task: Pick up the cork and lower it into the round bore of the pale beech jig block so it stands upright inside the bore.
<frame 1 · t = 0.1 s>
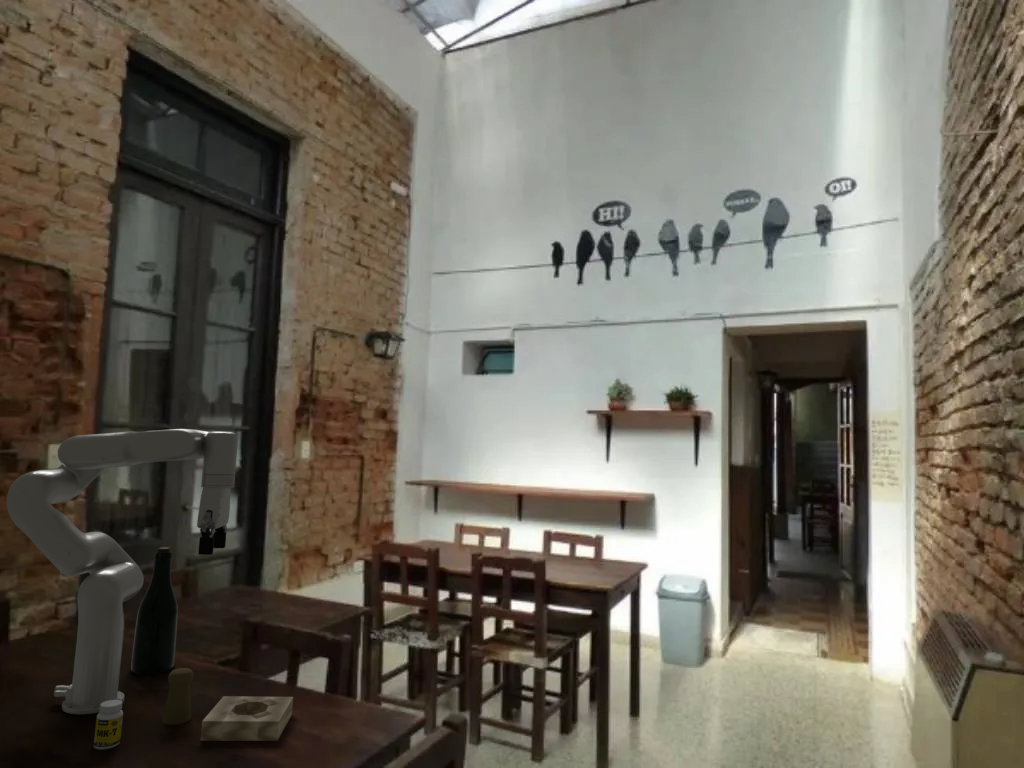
hand: (212, 551, 162), 37 cm above the table, tool pointing down, fingers open, 9 cm apart
wine bottle: (152, 669, 181), on the table
supplement bottle: (106, 746, 137), on the table
jig: (248, 726, 148), on the table
cork: (176, 720, 150), on the table
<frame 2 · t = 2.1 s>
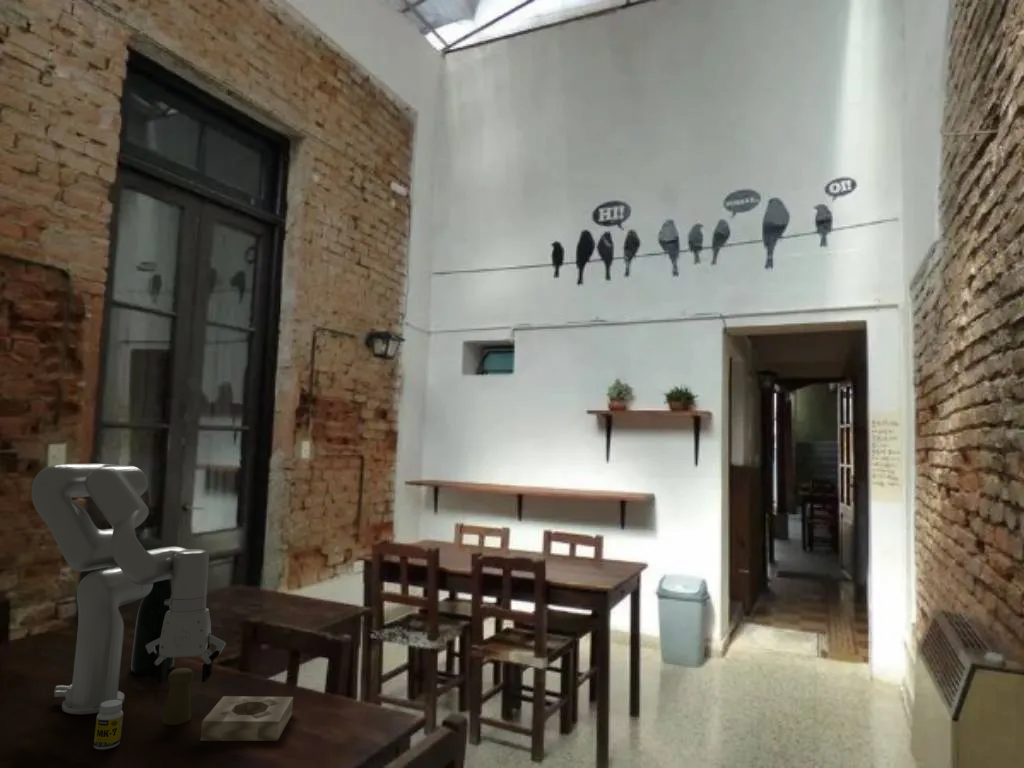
hand: (183, 680, 151), 9 cm above the table, tool pointing down, fingers open, 9 cm apart
nothing on the table moved.
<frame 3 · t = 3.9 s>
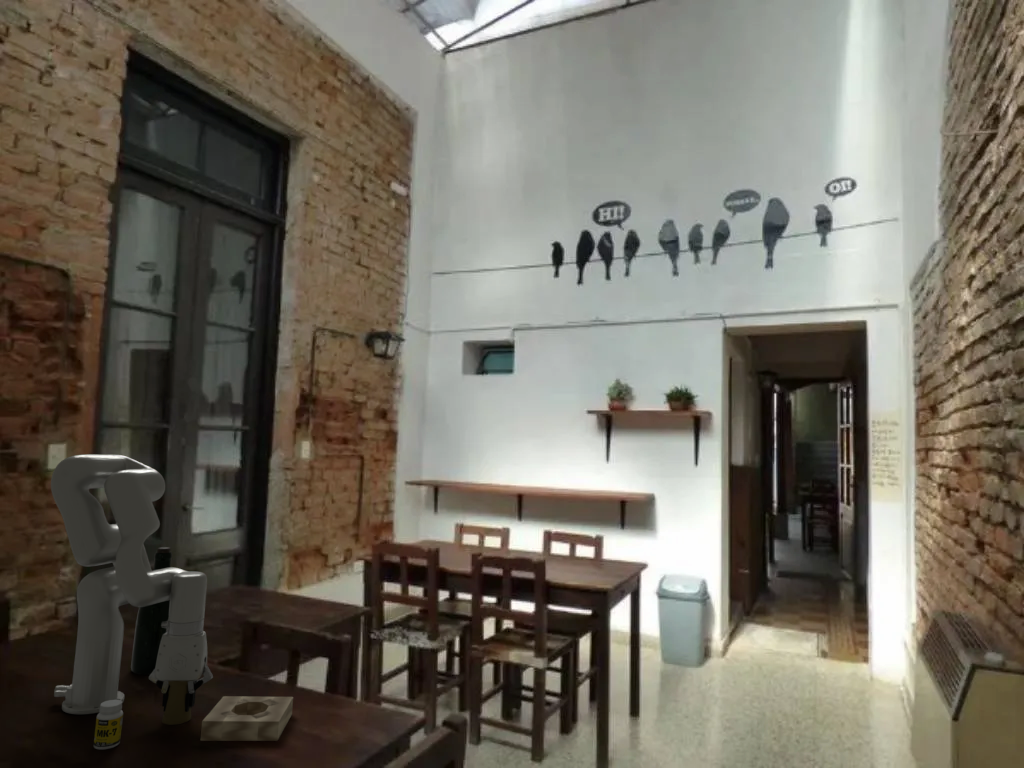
hand: (178, 708, 151), 2 cm above the table, tool pointing down, fingers closed on cork, 3 cm apart
cork: (176, 720, 150), on the table, touching gripper
everything else where it was.
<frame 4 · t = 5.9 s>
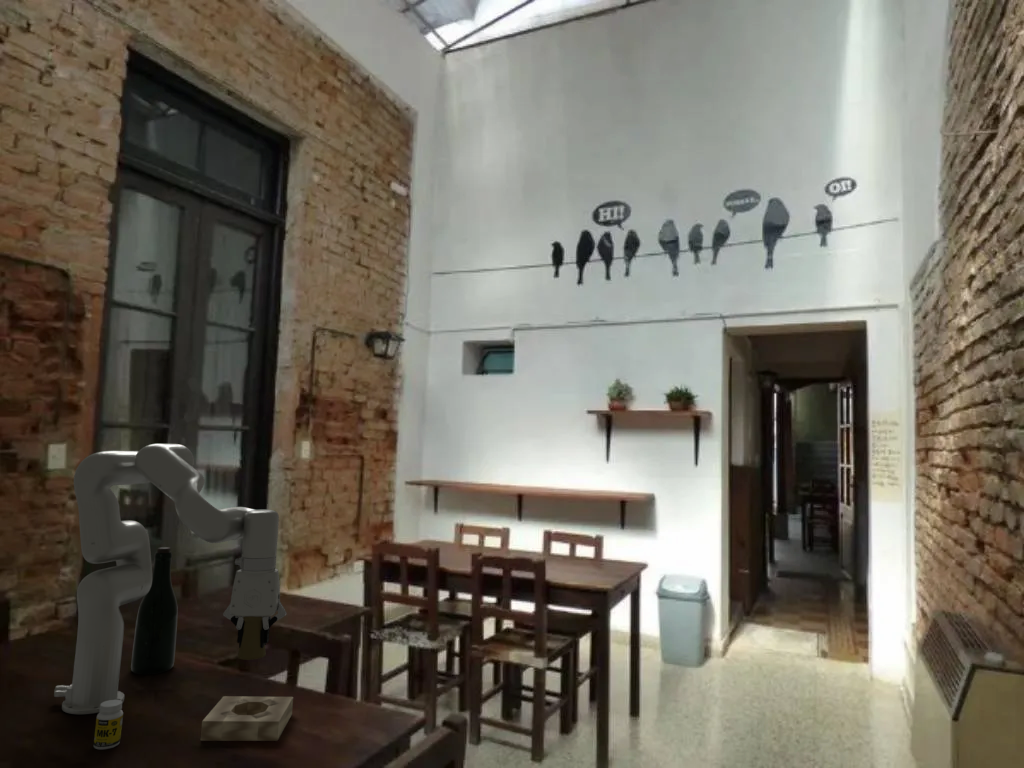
hand: (252, 645, 150), 18 cm above the table, tool pointing down, fingers closed on cork, 3 cm apart
cork: (251, 656, 150), point 15 cm above the table, touching gripper
everything else where it was.
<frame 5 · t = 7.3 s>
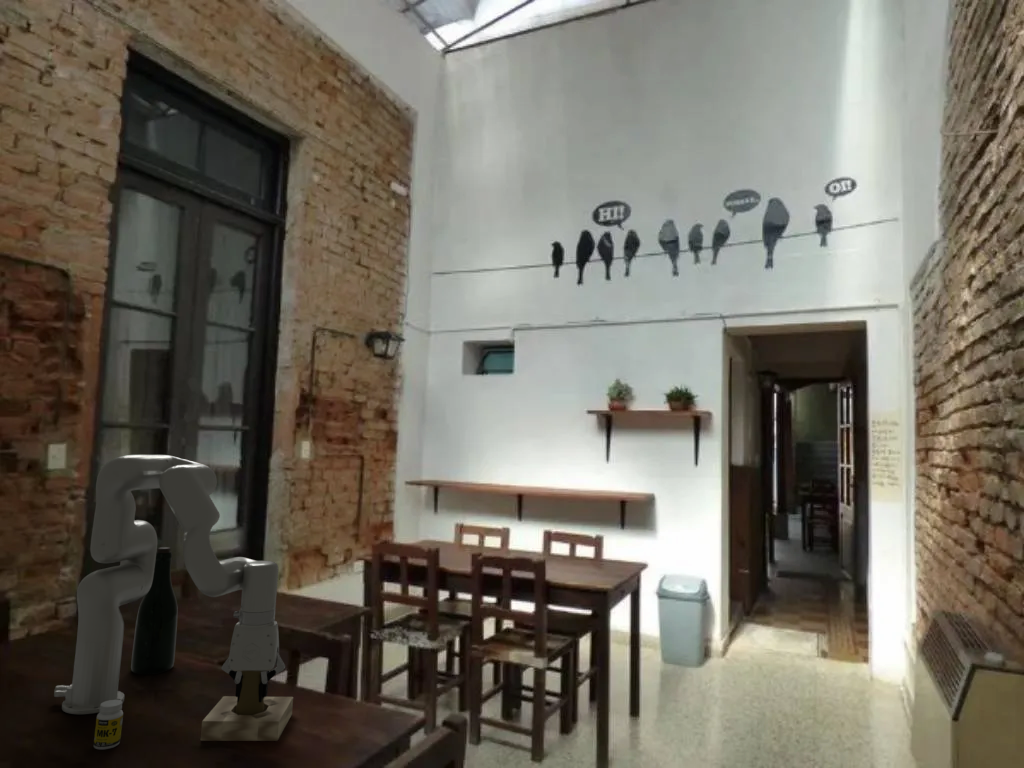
hand: (251, 699, 149), 6 cm above the table, tool pointing down, fingers closed on cork, 3 cm apart
cork: (249, 710, 148), point 4 cm above the table, touching gripper
everything else where it was.
when the fingers open (4 cm above the table, at t = 8.2 s): cork drops 2 cm, resting in jig.
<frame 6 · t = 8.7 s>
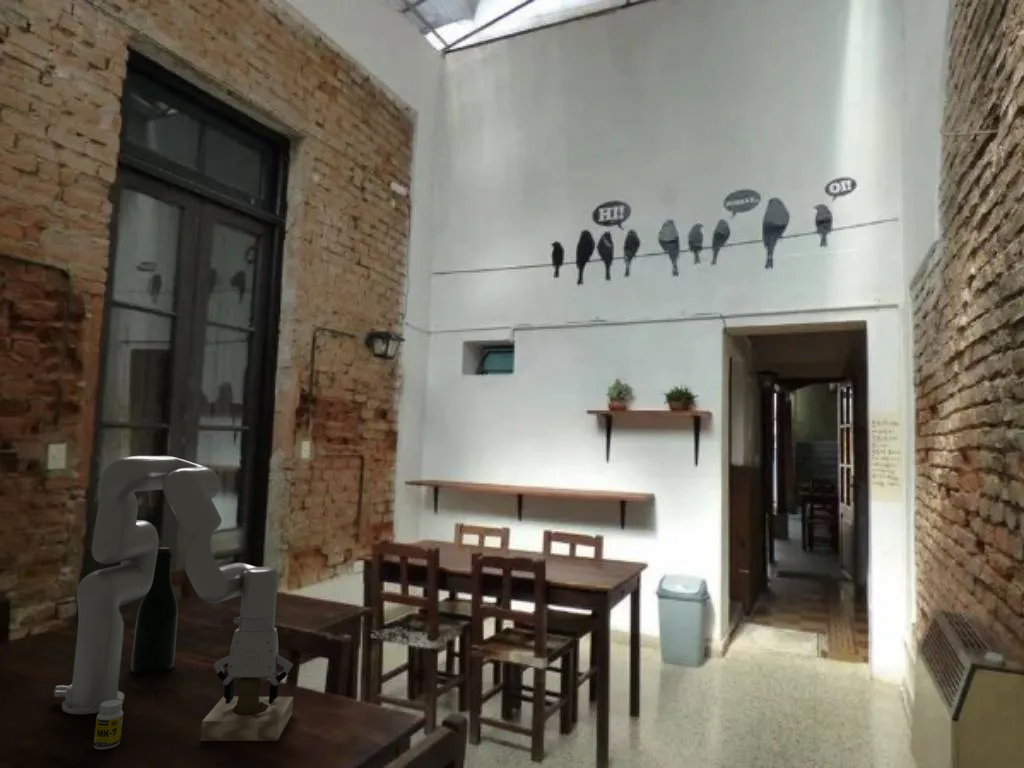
hand: (250, 701, 149), 6 cm above the table, tool pointing down, fingers open, 9 cm apart
cork: (246, 727, 148), resting in jig
everything else where it was.
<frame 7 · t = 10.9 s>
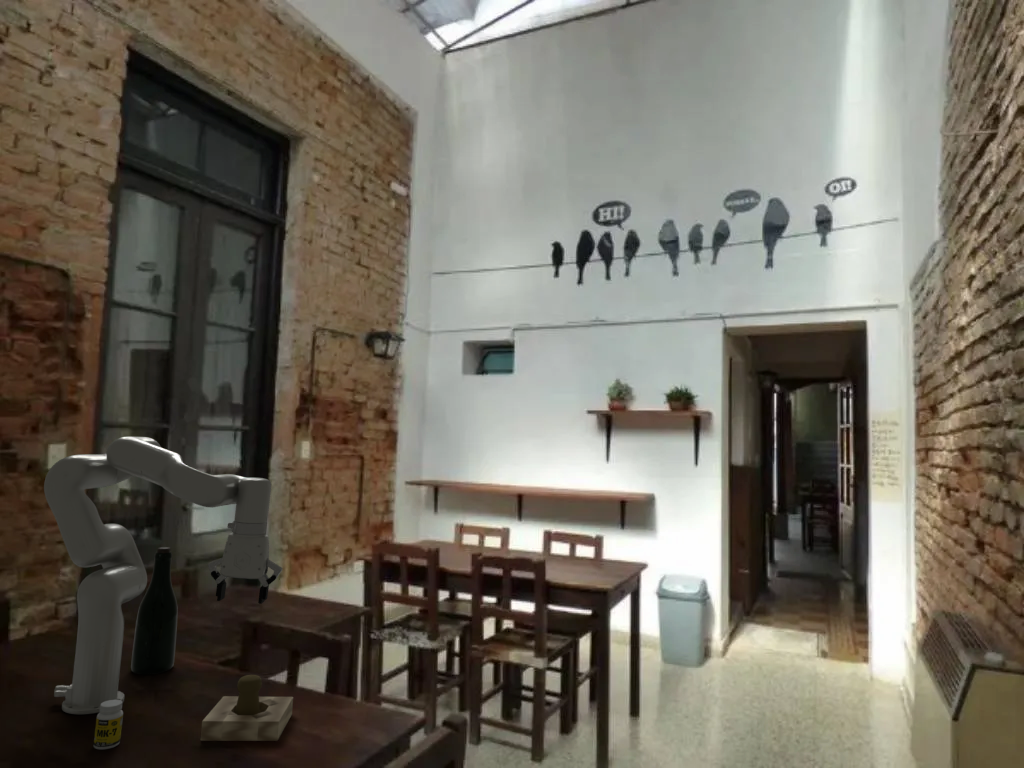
hand: (241, 601, 158), 26 cm above the table, tool pointing down, fingers open, 9 cm apart
nothing on the table moved.
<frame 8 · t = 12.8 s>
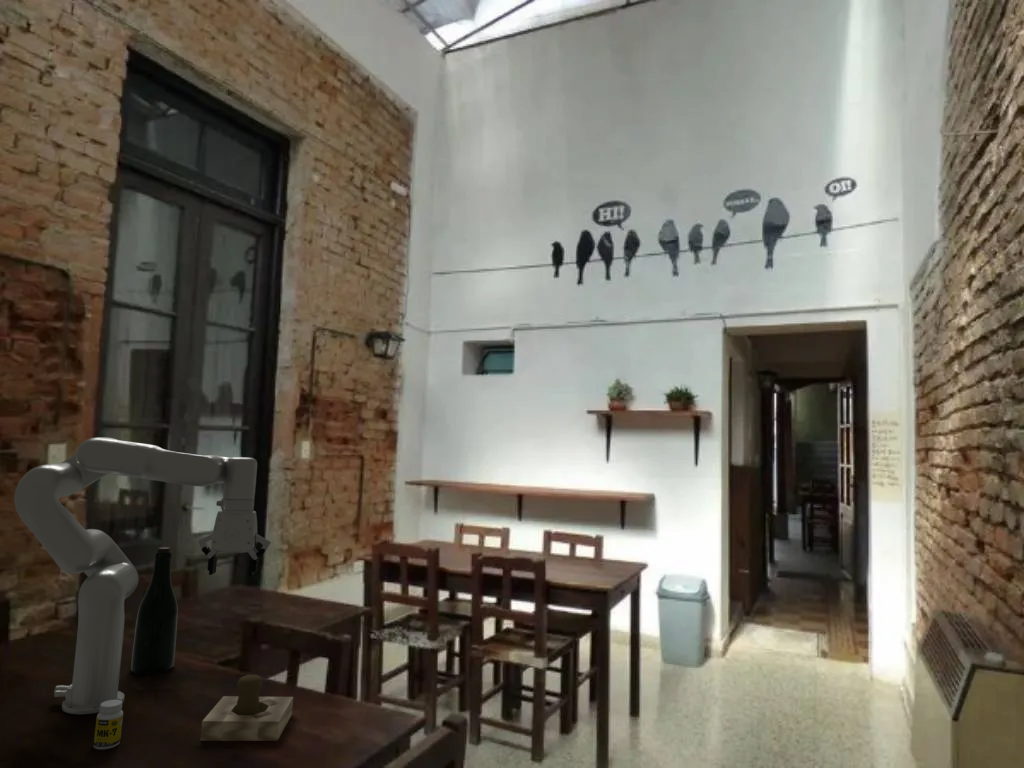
hand: (232, 574, 166), 30 cm above the table, tool pointing down, fingers open, 9 cm apart
nothing on the table moved.
at the end: cork 0.5 cm off-centre on the jig, point 0.0 cm above the jig's base; cork tilted 0°; the gripper is holding nothing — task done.
